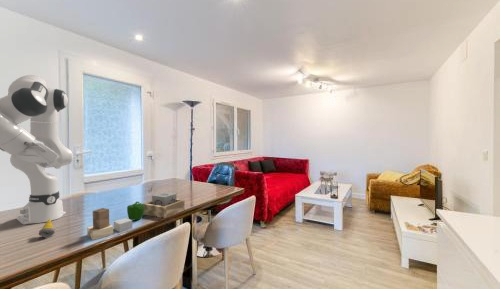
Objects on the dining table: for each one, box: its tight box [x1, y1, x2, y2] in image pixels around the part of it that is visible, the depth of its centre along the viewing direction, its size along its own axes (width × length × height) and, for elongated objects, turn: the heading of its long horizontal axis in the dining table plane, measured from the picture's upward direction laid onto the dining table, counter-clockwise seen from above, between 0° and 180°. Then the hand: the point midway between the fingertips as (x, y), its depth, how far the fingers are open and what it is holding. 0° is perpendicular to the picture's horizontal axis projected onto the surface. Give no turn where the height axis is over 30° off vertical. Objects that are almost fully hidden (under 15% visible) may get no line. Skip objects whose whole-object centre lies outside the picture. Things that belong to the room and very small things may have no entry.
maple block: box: [86, 223, 114, 241], centre depth 103 cm, size 8×8×4 cm
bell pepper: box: [126, 201, 144, 221], centre depth 123 cm, size 8×8×10 cm
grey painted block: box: [113, 217, 133, 233], centre depth 111 cm, size 6×6×4 cm
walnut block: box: [92, 207, 110, 230], centre depth 103 cm, size 4×4×8 cm
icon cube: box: [151, 191, 177, 206], centre depth 139 cm, size 10×10×10 cm
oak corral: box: [141, 198, 186, 219], centre depth 136 cm, size 17×17×6 cm
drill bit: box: [38, 219, 56, 240], centre depth 101 cm, size 5×5×10 cm
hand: (52, 166), depth 88 cm, fingers open, 8 cm apart
